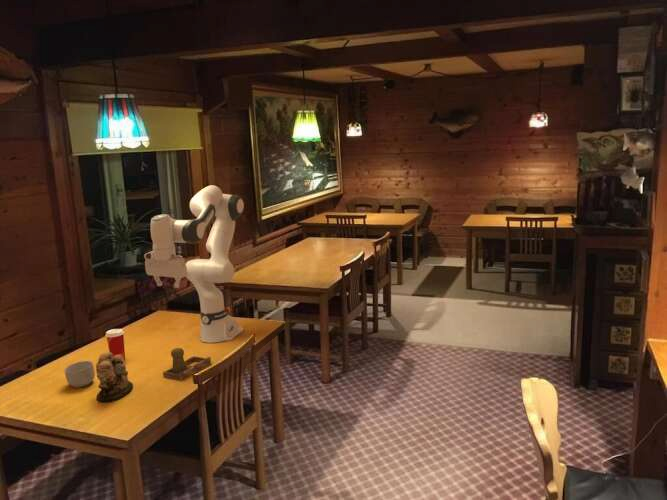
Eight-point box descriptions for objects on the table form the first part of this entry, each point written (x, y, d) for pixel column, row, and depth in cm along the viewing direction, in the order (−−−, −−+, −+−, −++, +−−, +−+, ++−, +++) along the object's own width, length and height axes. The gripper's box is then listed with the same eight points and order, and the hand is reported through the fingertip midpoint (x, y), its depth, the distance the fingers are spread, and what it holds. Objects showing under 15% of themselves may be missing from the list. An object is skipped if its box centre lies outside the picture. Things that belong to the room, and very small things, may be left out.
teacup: (92, 388, 222) (89, 369, 220) (63, 391, 220) (60, 372, 219) (100, 374, 236) (97, 356, 234) (73, 377, 234) (70, 359, 232)
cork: (182, 377, 228) (180, 352, 225) (169, 376, 229) (166, 351, 227) (189, 371, 233) (187, 346, 231) (176, 370, 235) (174, 346, 233)
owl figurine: (119, 404, 207) (113, 361, 204) (89, 405, 208) (82, 362, 205) (139, 382, 225) (133, 342, 222) (110, 383, 226) (104, 343, 222)
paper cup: (115, 357, 253) (111, 328, 251) (131, 357, 252) (127, 328, 249) (105, 364, 246) (101, 334, 243) (121, 364, 244) (117, 334, 241)
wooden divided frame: (193, 360, 245) (192, 351, 244) (211, 363, 241) (210, 354, 240) (163, 377, 229) (162, 367, 228) (181, 380, 225) (180, 371, 224)
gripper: (189, 253, 229) (192, 286, 231) (152, 251, 238) (156, 282, 241) (178, 257, 223) (181, 290, 226) (141, 254, 233) (145, 286, 236)
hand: (168, 286), depth 234 cm, fingers open, 8 cm apart
